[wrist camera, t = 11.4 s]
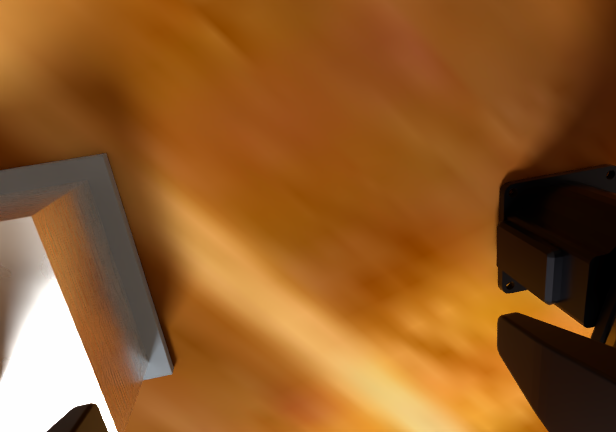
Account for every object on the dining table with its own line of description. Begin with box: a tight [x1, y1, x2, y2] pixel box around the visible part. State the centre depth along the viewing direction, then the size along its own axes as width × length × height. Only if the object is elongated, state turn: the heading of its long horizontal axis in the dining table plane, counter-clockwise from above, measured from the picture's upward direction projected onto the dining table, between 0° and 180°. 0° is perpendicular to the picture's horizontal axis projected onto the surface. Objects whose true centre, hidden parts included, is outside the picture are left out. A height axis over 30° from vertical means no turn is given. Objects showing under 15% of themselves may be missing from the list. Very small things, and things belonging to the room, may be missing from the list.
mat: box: [0, 153, 174, 380], centre depth 20 cm, size 12×12×1 cm
